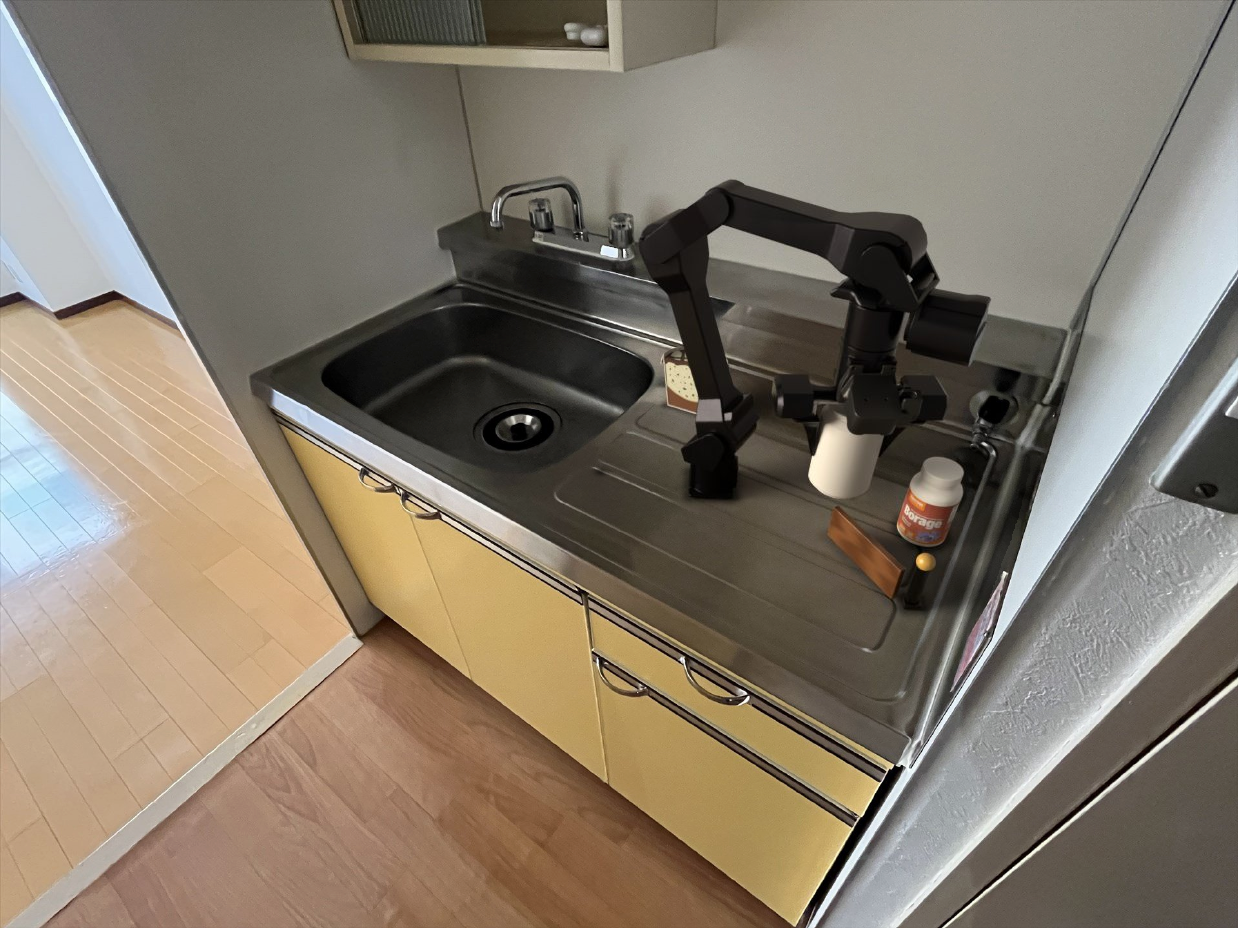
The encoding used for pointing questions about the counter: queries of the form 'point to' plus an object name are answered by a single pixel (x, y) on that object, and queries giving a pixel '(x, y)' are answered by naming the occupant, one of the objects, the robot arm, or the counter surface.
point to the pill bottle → (931, 502)
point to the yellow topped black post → (918, 582)
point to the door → (866, 552)
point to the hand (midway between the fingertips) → (844, 454)
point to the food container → (679, 380)
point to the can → (842, 456)
